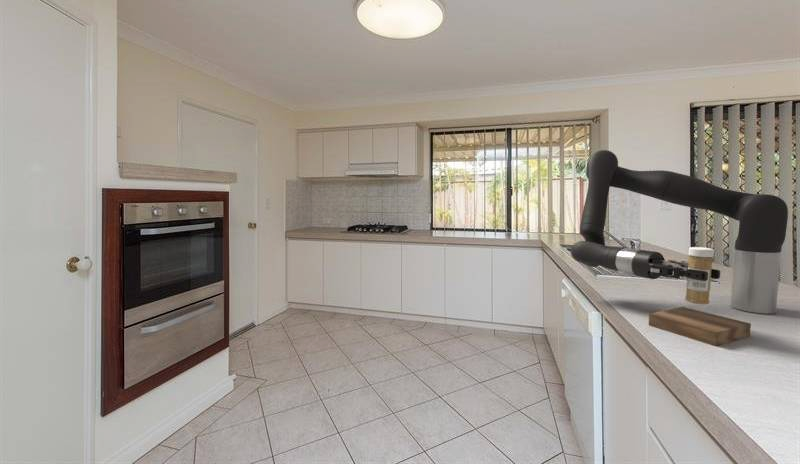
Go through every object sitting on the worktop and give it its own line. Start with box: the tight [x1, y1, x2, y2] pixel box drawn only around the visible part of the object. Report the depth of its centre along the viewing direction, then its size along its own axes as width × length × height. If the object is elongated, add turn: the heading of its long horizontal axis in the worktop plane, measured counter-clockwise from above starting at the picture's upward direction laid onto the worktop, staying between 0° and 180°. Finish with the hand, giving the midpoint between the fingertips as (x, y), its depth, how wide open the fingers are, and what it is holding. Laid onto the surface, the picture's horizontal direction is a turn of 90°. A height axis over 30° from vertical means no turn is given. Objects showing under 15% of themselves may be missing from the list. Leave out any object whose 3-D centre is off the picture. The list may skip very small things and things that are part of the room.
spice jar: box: [684, 246, 715, 305], centre depth 83 cm, size 5×5×14 cm
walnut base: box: [648, 306, 752, 347], centre depth 84 cm, size 14×14×3 cm
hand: (712, 275), depth 80 cm, fingers closed on spice jar, 4 cm apart
